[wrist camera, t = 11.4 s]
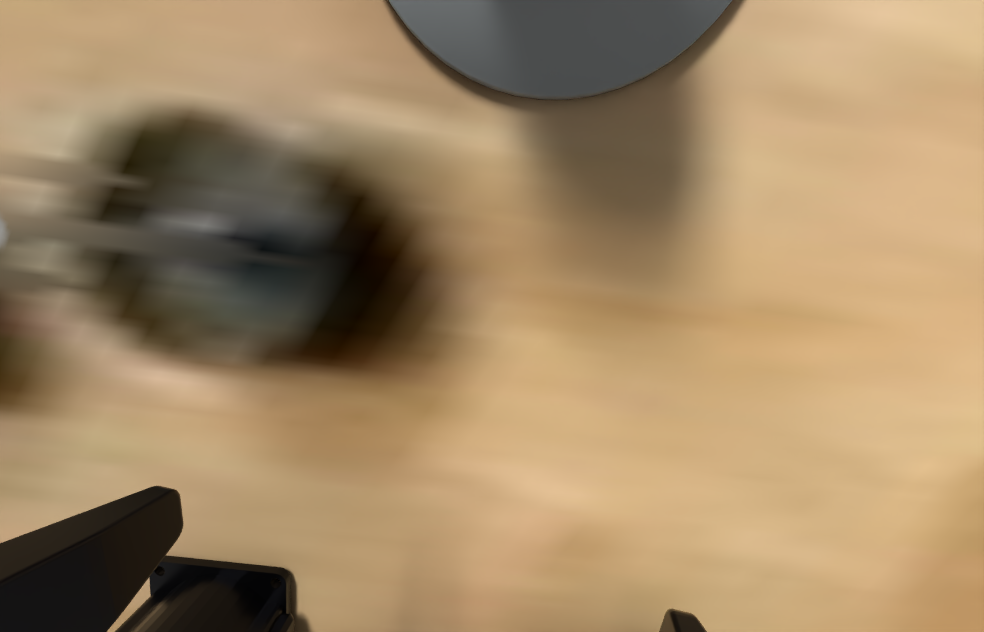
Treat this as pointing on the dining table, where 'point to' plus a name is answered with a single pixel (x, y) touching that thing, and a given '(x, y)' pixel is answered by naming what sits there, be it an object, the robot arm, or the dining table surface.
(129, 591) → the robot arm
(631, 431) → the dining table surface
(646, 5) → the grey flat disc
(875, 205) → the dining table surface
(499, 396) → the dining table surface
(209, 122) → the dining table surface
